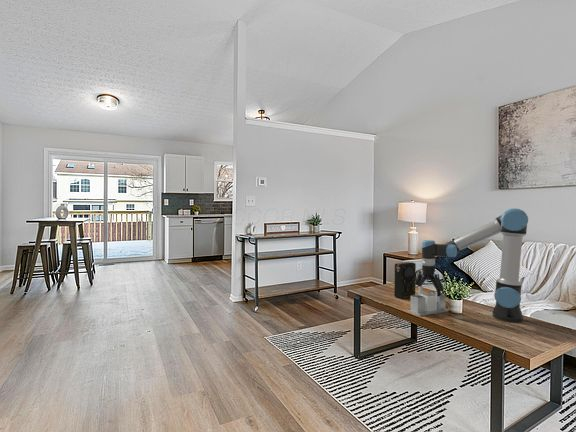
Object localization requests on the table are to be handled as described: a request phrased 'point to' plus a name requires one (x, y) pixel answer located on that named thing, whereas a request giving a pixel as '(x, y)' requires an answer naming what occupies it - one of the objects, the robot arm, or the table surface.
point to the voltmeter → (404, 280)
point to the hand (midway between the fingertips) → (428, 298)
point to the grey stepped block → (419, 305)
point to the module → (430, 302)
